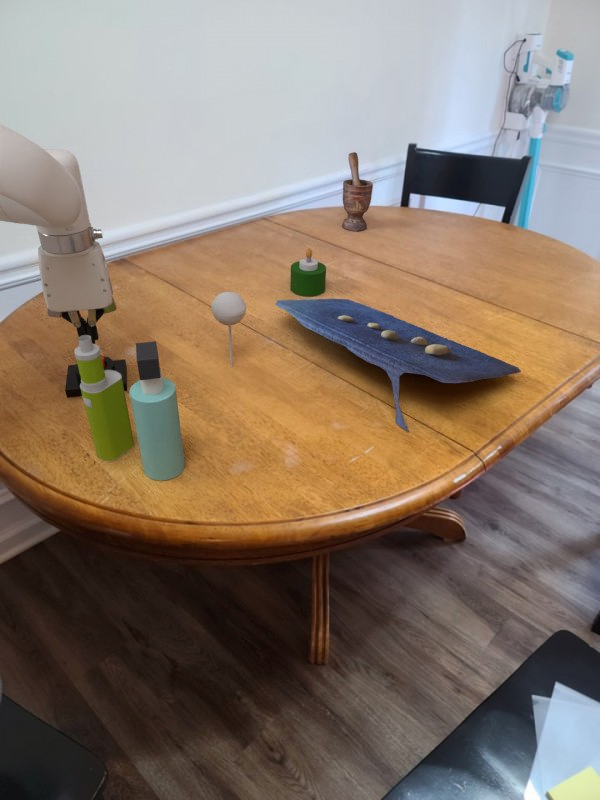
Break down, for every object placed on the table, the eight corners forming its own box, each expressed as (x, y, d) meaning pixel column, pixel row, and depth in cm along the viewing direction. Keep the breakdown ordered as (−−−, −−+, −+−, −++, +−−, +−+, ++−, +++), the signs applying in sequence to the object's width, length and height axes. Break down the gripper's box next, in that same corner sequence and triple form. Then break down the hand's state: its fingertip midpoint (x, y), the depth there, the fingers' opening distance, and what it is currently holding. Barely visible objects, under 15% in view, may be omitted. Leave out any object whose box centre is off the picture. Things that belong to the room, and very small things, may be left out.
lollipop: (254, 365, 106) (252, 292, 98) (234, 379, 102) (230, 304, 94) (229, 354, 109) (225, 282, 100) (208, 367, 105) (203, 294, 96)
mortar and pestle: (328, 222, 174) (332, 153, 162) (350, 218, 178) (356, 150, 166) (351, 233, 166) (357, 162, 154) (374, 229, 170) (381, 158, 158)
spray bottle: (142, 456, 85) (122, 341, 73) (183, 450, 86) (169, 336, 75) (144, 483, 80) (122, 365, 69) (186, 477, 82) (172, 360, 70)
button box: (66, 398, 96) (62, 381, 94) (69, 373, 103) (65, 356, 100) (127, 390, 99) (124, 374, 96) (126, 366, 105) (123, 350, 103)
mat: (253, 346, 116) (263, 292, 112) (342, 339, 135) (353, 292, 131) (430, 444, 88) (451, 376, 84) (511, 417, 107) (532, 361, 102)
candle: (283, 287, 134) (283, 247, 129) (308, 279, 139) (310, 239, 133) (306, 299, 130) (308, 258, 124) (332, 290, 134) (334, 249, 128)
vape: (91, 455, 85) (62, 340, 73) (121, 434, 89) (98, 322, 77) (108, 465, 83) (81, 348, 71) (138, 443, 87) (117, 329, 76)
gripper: (118, 227, 90) (134, 328, 101) (17, 233, 87) (45, 337, 97) (118, 244, 84) (136, 350, 95) (9, 251, 81) (41, 360, 92)
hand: (90, 343), depth 96 cm, fingers closed
